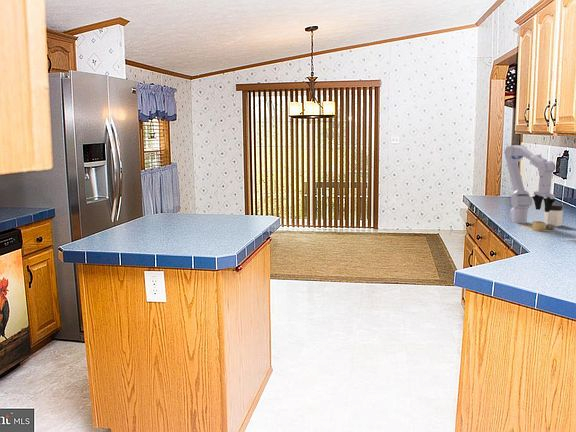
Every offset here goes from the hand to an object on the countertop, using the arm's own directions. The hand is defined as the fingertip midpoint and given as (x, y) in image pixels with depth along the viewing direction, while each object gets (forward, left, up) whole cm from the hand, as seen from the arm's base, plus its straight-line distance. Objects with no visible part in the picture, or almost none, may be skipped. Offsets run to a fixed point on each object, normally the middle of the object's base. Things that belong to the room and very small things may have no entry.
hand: (542, 210), depth 281 cm
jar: (-6, +11, -10) cm, 16 cm away
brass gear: (+6, -6, -9) cm, 12 cm away
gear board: (+2, -3, -10) cm, 11 cm away
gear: (+6, +1, -9) cm, 11 cm away
